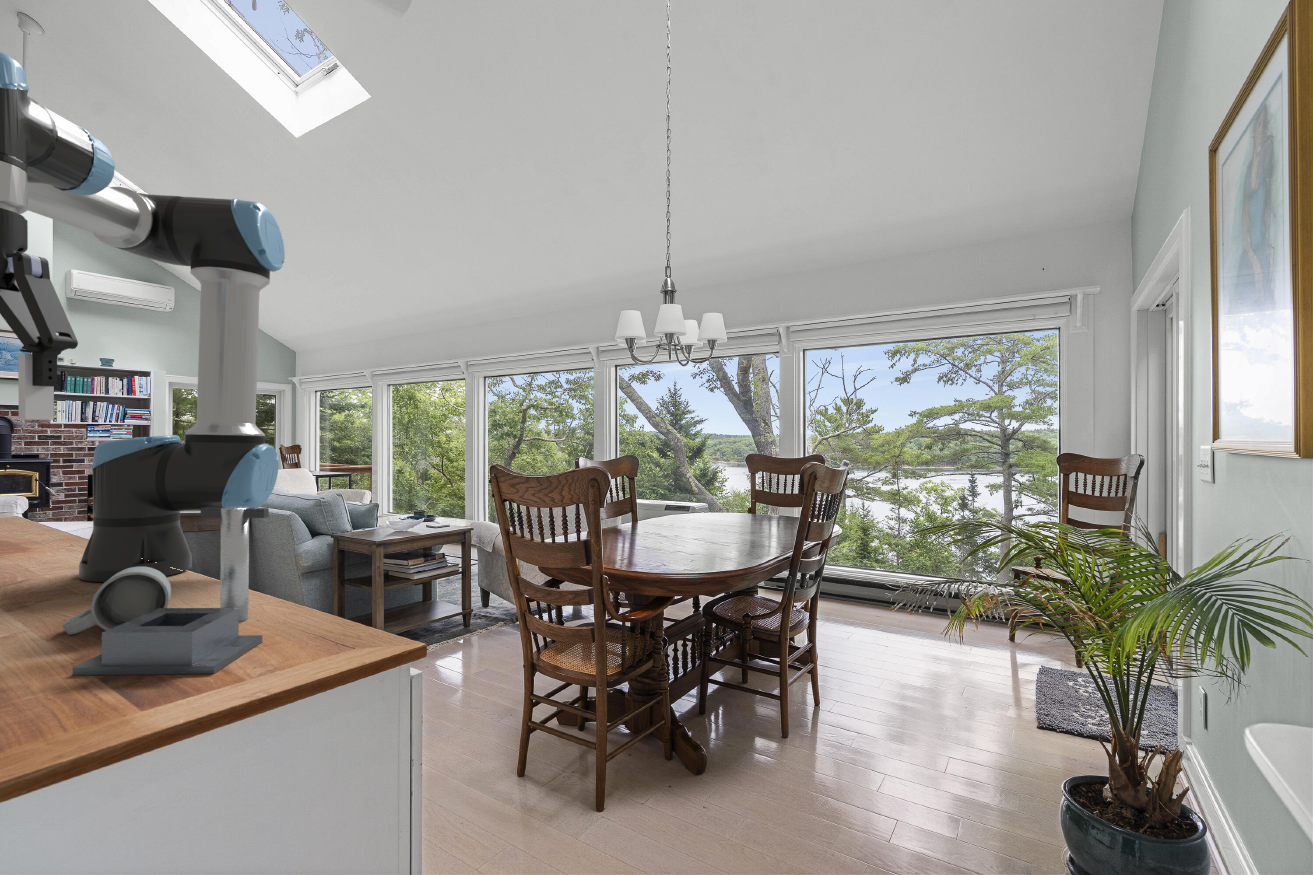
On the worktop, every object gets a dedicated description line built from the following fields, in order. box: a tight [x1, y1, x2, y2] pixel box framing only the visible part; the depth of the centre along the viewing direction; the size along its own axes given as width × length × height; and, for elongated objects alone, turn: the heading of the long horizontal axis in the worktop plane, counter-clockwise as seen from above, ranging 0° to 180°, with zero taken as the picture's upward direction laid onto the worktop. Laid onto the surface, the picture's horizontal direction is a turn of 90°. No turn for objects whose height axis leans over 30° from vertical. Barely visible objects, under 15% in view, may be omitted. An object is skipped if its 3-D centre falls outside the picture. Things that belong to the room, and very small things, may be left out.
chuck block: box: [71, 607, 263, 676], centre depth 74 cm, size 10×14×4 cm
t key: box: [200, 507, 270, 623], centre depth 87 cm, size 8×3×15 cm, turn 95°
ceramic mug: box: [62, 567, 172, 636], centre depth 83 cm, size 11×8×8 cm
